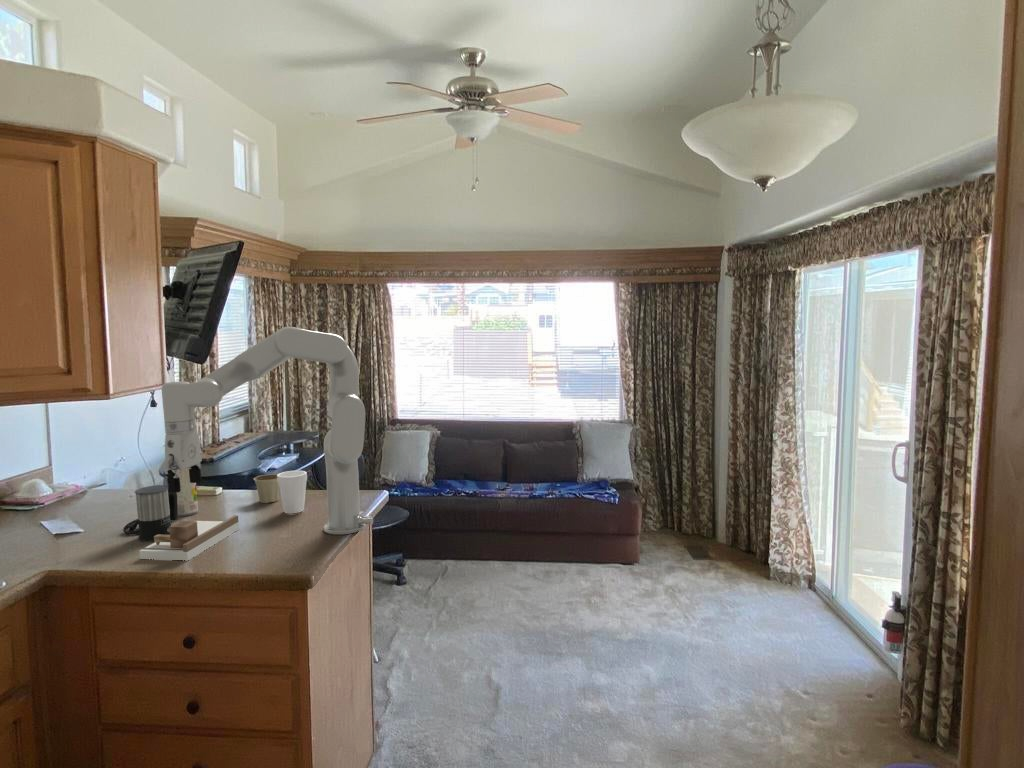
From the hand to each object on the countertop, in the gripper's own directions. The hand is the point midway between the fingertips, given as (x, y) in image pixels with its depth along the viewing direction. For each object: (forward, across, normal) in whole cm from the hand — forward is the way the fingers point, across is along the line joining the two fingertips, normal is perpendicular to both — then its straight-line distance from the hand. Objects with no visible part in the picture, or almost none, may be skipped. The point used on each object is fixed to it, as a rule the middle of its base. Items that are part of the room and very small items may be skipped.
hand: (185, 487), depth 182 cm
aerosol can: (+19, +34, +23) cm, 46 cm away
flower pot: (+19, +50, +2) cm, 54 cm away
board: (+19, +6, +4) cm, 20 cm away
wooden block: (+16, -2, +4) cm, 17 cm away
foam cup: (+19, +38, -13) cm, 45 cm away
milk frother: (+19, +13, +22) cm, 32 cm away
